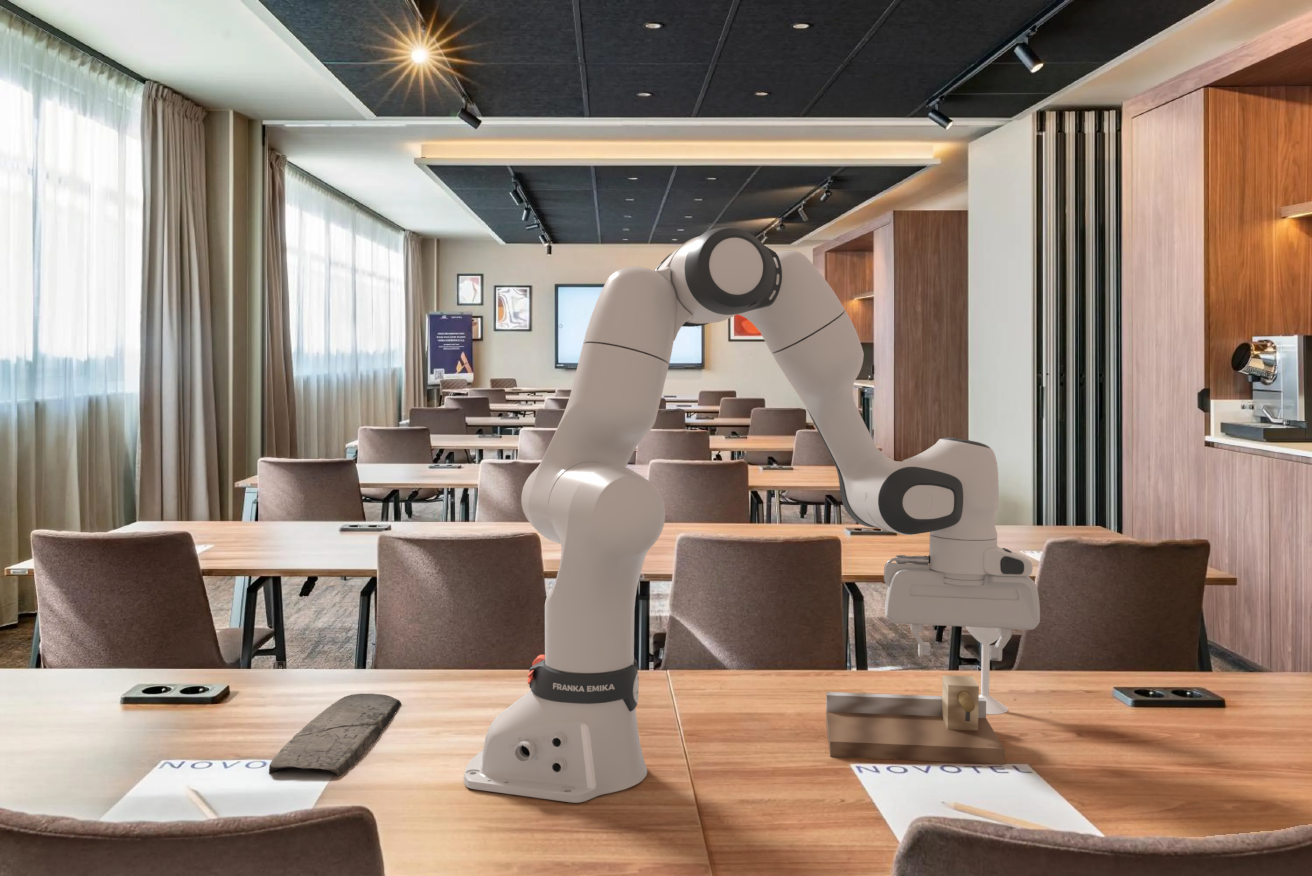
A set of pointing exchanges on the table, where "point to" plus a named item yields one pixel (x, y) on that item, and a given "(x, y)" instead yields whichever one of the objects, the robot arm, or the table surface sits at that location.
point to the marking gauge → (960, 702)
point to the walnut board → (905, 730)
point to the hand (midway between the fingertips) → (959, 658)
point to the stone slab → (338, 734)
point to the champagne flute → (987, 666)
